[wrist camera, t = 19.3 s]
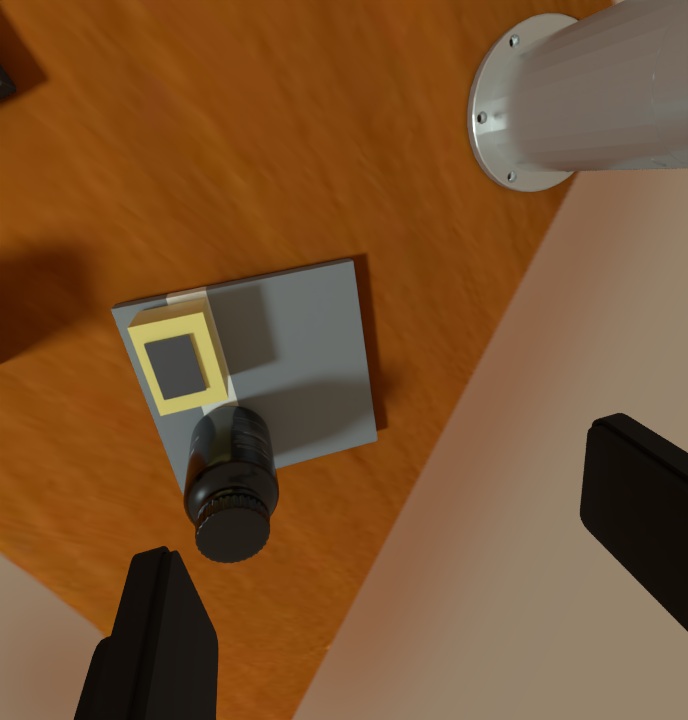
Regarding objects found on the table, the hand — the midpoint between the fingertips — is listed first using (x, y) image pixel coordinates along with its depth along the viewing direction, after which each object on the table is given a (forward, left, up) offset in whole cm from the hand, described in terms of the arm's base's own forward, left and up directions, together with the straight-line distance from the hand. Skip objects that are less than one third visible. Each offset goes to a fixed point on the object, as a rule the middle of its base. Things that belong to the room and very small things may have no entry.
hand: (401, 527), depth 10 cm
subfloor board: (+3, +9, -29) cm, 31 cm away
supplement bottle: (+7, +13, -28) cm, 32 cm away
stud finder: (+8, +4, -27) cm, 29 cm away
